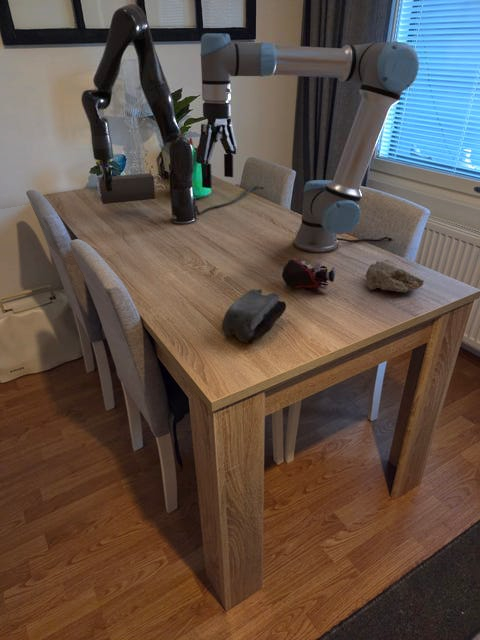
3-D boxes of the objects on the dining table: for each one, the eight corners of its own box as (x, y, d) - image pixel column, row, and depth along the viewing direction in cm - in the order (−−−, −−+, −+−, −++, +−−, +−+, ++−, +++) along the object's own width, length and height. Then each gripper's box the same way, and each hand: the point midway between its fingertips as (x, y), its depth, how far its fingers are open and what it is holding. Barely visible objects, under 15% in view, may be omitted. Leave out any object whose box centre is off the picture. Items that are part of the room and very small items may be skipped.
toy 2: (334, 253, 124) (283, 248, 130) (327, 283, 122) (275, 277, 127) (338, 272, 135) (291, 267, 140) (332, 300, 132) (284, 294, 138)
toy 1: (167, 190, 223) (163, 137, 210) (207, 188, 227) (205, 135, 214) (172, 202, 206) (167, 145, 193) (214, 199, 210) (213, 143, 197)
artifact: (384, 303, 127) (425, 296, 132) (391, 281, 123) (434, 275, 127) (349, 272, 141) (388, 267, 145) (355, 251, 136) (395, 247, 141)
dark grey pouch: (257, 354, 105) (257, 326, 101) (216, 341, 109) (215, 314, 105) (287, 319, 119) (289, 292, 114) (250, 308, 123) (250, 283, 119)
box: (102, 204, 183) (99, 180, 178) (101, 200, 187) (97, 177, 182) (155, 199, 190) (153, 176, 185) (152, 195, 194) (150, 173, 189)
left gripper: (115, 149, 170) (120, 192, 179) (109, 142, 182) (114, 184, 190) (94, 150, 168) (101, 194, 177) (90, 143, 179) (96, 185, 188)
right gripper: (205, 107, 108) (208, 194, 119) (248, 98, 127) (247, 173, 138) (179, 105, 111) (184, 190, 122) (225, 97, 130) (226, 171, 141)
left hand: (108, 189), depth 183 cm, fingers closed on box, 6 cm apart
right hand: (218, 182), depth 130 cm, fingers open, 13 cm apart
